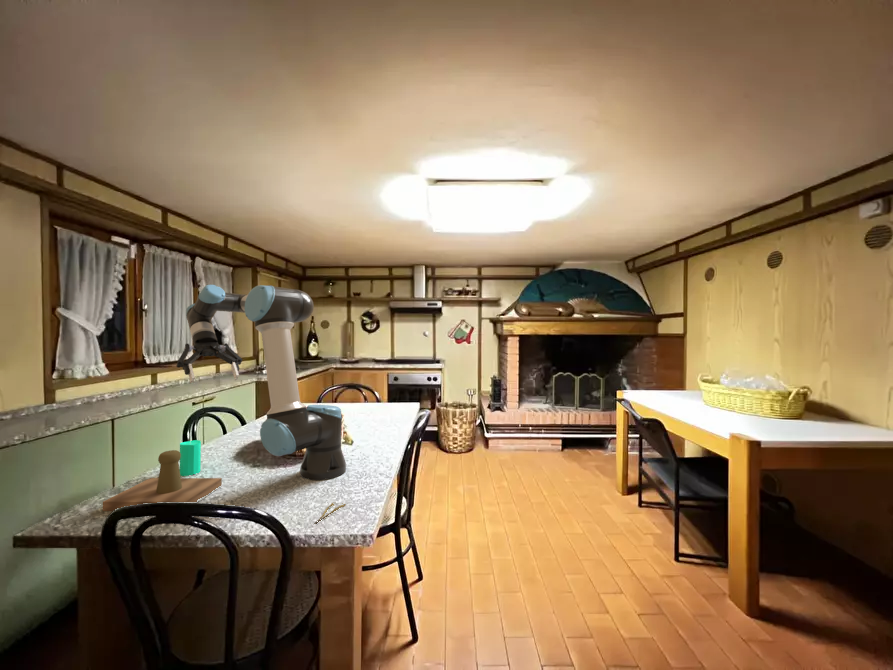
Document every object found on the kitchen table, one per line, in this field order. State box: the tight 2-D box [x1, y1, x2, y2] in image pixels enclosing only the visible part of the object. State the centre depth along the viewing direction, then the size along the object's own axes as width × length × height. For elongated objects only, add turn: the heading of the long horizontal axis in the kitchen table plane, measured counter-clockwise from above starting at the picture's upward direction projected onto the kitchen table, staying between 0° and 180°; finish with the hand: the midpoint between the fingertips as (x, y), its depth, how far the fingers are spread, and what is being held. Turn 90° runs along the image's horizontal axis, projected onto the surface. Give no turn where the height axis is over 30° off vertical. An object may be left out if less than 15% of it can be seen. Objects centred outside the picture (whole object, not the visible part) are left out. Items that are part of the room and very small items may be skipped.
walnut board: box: [102, 477, 223, 512], centre depth 105 cm, size 22×16×2 cm
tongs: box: [313, 502, 346, 525], centre depth 96 cm, size 4×13×2 cm, turn 171°
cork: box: [156, 449, 182, 494], centre depth 105 cm, size 6×6×11 cm
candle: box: [179, 437, 202, 477], centre depth 124 cm, size 6×6×12 cm
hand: (215, 379), depth 127 cm, fingers open, 13 cm apart
